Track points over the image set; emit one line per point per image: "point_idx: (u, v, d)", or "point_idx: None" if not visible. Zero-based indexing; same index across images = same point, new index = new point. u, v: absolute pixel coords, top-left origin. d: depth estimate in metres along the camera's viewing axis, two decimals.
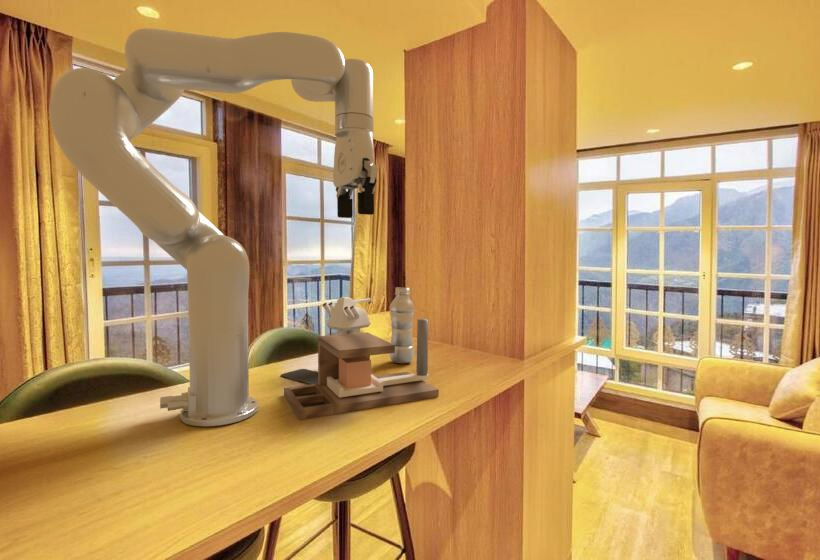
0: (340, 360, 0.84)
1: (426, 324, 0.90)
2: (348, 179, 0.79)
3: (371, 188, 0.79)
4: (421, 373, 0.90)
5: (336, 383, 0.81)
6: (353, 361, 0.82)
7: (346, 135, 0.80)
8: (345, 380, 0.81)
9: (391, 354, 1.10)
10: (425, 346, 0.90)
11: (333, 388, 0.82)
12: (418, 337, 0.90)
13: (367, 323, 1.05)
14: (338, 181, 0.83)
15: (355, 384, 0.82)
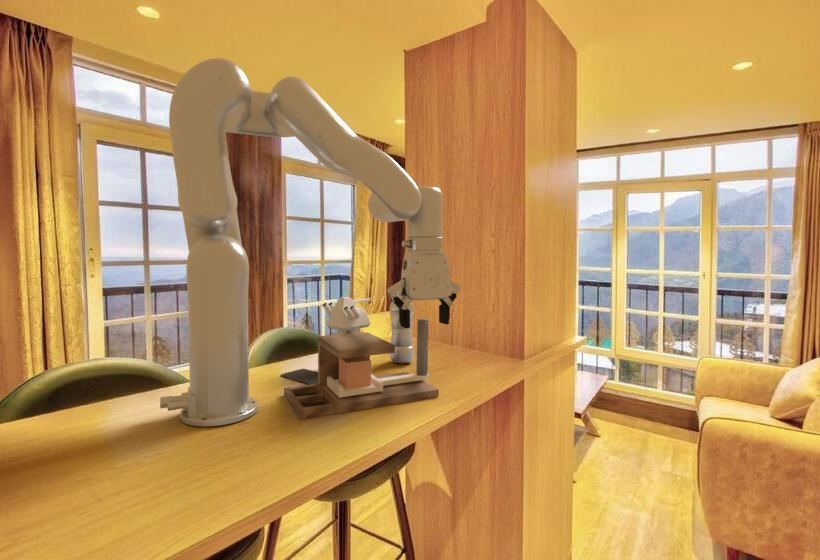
0: (340, 360, 0.84)
1: (426, 324, 0.90)
2: (444, 295, 0.89)
3: None
4: (421, 373, 0.90)
5: (336, 383, 0.81)
6: (353, 361, 0.82)
7: (439, 256, 0.89)
8: (345, 380, 0.81)
9: (391, 354, 1.10)
10: (425, 346, 0.90)
11: (333, 388, 0.82)
12: (418, 337, 0.90)
13: (367, 323, 1.05)
14: (425, 296, 0.87)
15: (355, 384, 0.82)
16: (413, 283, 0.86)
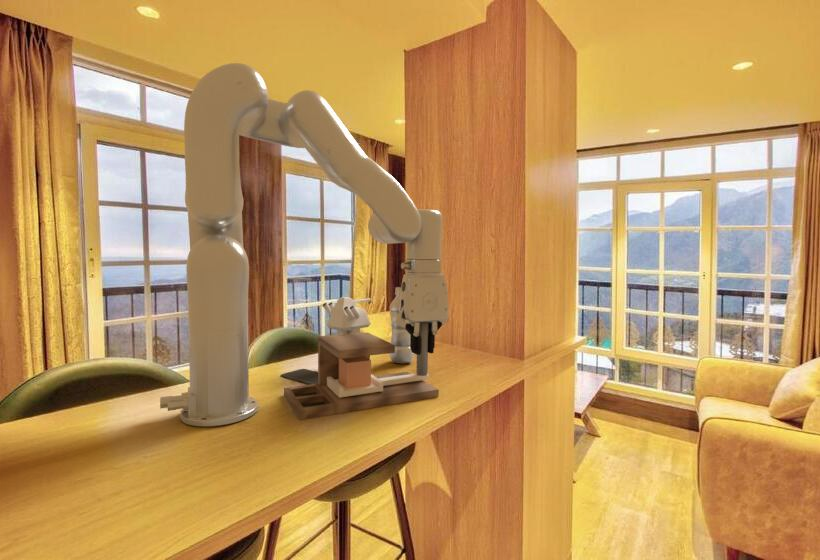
0: (340, 360, 0.84)
1: (426, 324, 0.90)
2: (442, 318, 0.90)
3: None
4: (421, 373, 0.90)
5: (336, 383, 0.81)
6: (353, 361, 0.82)
7: (438, 278, 0.89)
8: (345, 380, 0.81)
9: (391, 354, 1.10)
10: (425, 346, 0.90)
11: (333, 388, 0.82)
12: None
13: (367, 323, 1.05)
14: (423, 318, 0.87)
15: (355, 384, 0.82)
16: (411, 305, 0.86)
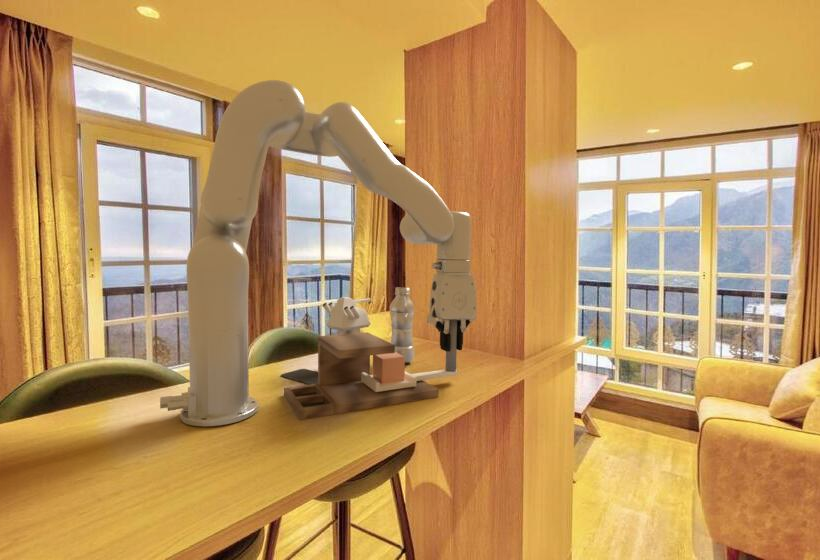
0: (374, 356, 0.87)
1: (455, 322, 0.93)
2: (470, 316, 0.93)
3: None
4: (450, 369, 0.94)
5: (372, 378, 0.85)
6: (388, 357, 0.85)
7: (467, 278, 0.92)
8: (381, 375, 0.85)
9: None
10: (454, 343, 0.93)
11: (369, 383, 0.85)
12: None
13: (367, 323, 1.05)
14: (453, 316, 0.91)
15: (390, 379, 0.85)
16: (442, 304, 0.90)
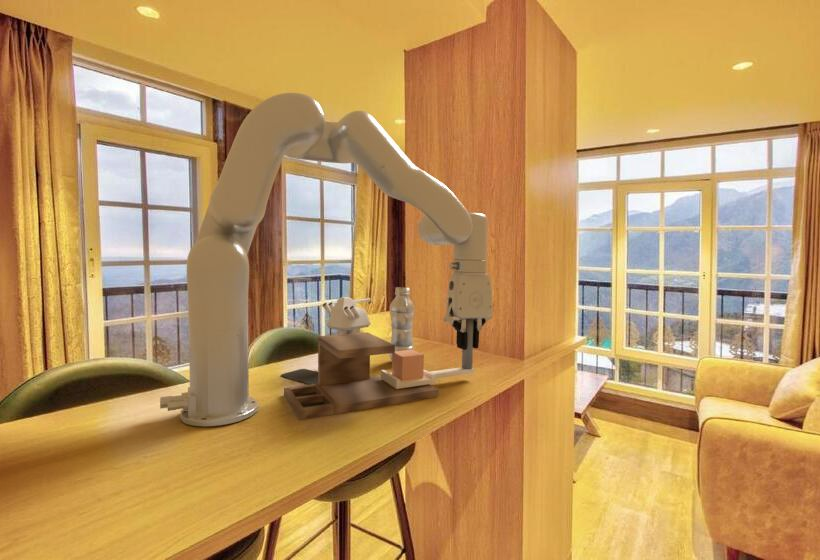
0: (394, 354, 0.90)
1: (472, 321, 0.95)
2: (487, 315, 0.95)
3: None
4: (467, 367, 0.96)
5: (392, 376, 0.87)
6: (407, 355, 0.87)
7: (484, 277, 0.94)
8: (401, 373, 0.87)
9: (391, 354, 1.10)
10: (471, 341, 0.96)
11: (389, 380, 0.87)
12: None
13: (367, 323, 1.05)
14: (470, 315, 0.93)
15: (409, 377, 0.87)
16: (460, 303, 0.92)
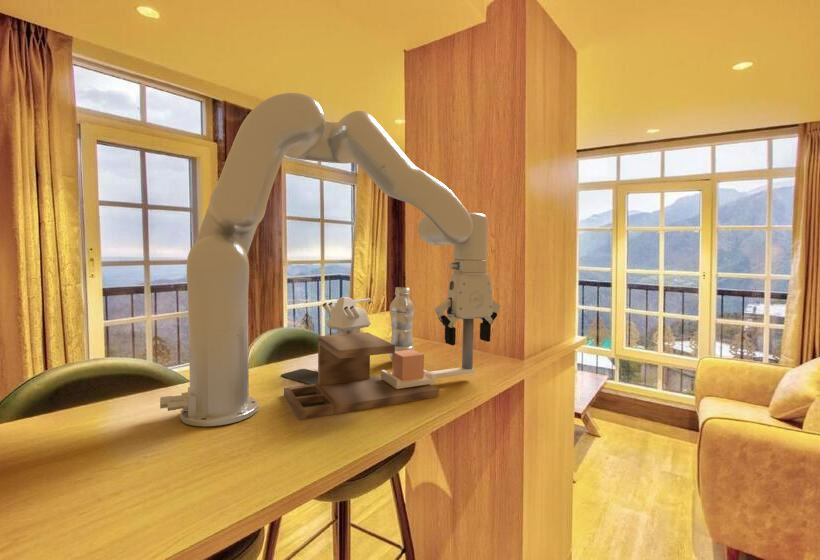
0: (394, 354, 0.90)
1: (472, 321, 0.95)
2: (487, 315, 0.95)
3: None
4: (467, 367, 0.96)
5: (392, 376, 0.87)
6: (408, 355, 0.87)
7: (484, 277, 0.94)
8: (401, 373, 0.87)
9: (391, 354, 1.10)
10: (471, 341, 0.96)
11: (389, 380, 0.87)
12: (464, 333, 0.96)
13: (367, 323, 1.05)
14: (470, 315, 0.93)
15: (410, 376, 0.87)
16: (460, 303, 0.92)
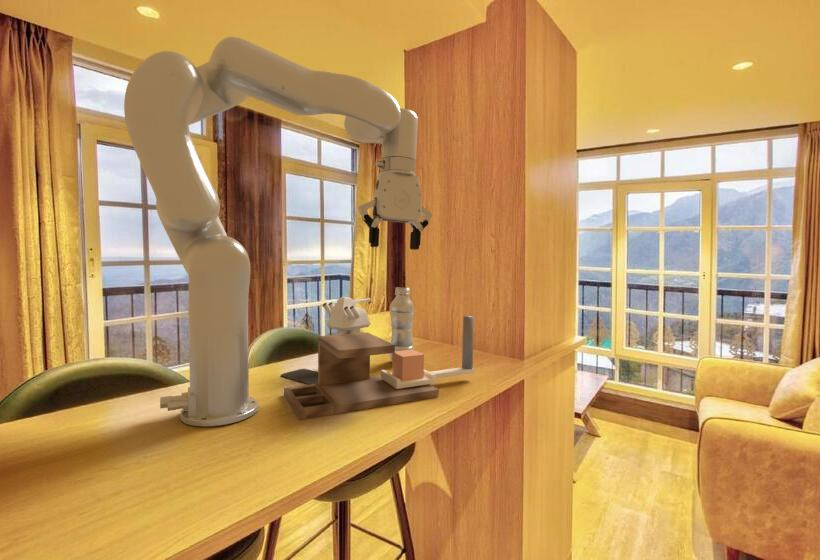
0: (394, 354, 0.90)
1: (472, 321, 0.95)
2: (414, 218, 0.91)
3: None
4: (467, 367, 0.96)
5: (392, 376, 0.87)
6: (408, 355, 0.87)
7: (412, 178, 0.90)
8: (401, 373, 0.87)
9: (391, 354, 1.10)
10: (471, 341, 0.96)
11: (389, 380, 0.87)
12: (464, 333, 0.96)
13: (367, 323, 1.05)
14: (395, 215, 0.89)
15: (410, 376, 0.87)
16: (383, 201, 0.87)
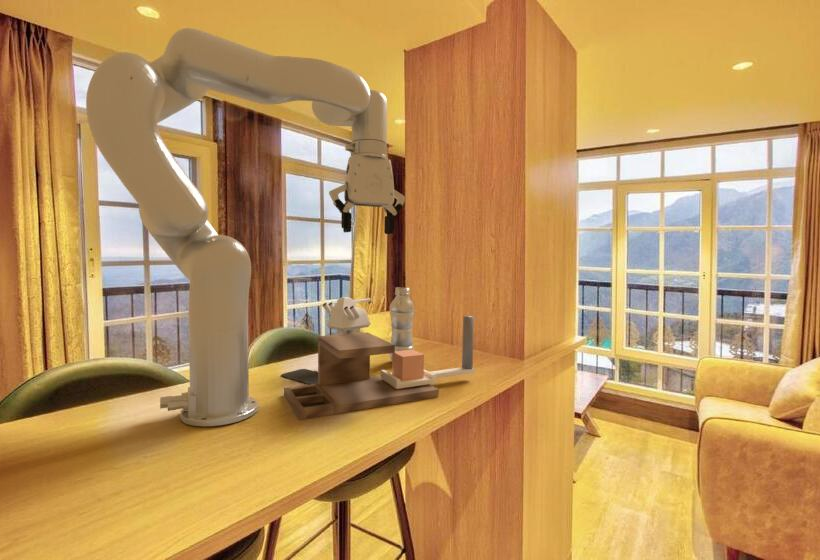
0: (394, 354, 0.90)
1: (472, 321, 0.95)
2: (387, 202, 0.90)
3: None
4: (467, 367, 0.96)
5: (392, 376, 0.87)
6: (408, 355, 0.87)
7: (383, 161, 0.89)
8: (401, 373, 0.87)
9: (391, 354, 1.10)
10: (471, 341, 0.96)
11: (389, 380, 0.87)
12: (464, 333, 0.96)
13: (367, 323, 1.05)
14: (366, 199, 0.87)
15: (410, 376, 0.87)
16: (354, 185, 0.86)
